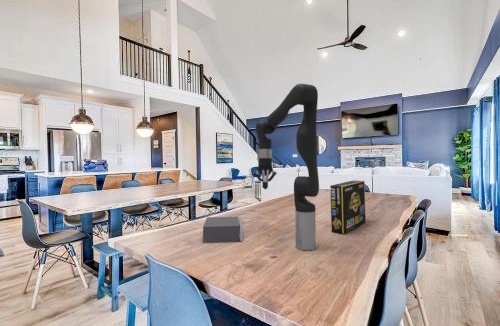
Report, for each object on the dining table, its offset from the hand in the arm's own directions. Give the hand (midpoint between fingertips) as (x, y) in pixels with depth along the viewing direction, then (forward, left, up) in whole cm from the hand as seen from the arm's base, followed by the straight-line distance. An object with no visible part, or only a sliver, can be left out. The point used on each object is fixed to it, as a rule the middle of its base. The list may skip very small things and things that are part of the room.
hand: (265, 188), depth 141 cm
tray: (-2, +22, -25) cm, 33 cm away
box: (+8, -51, -25) cm, 58 cm away
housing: (-2, +24, -25) cm, 34 cm away
